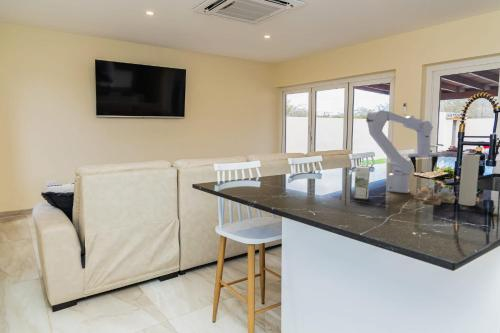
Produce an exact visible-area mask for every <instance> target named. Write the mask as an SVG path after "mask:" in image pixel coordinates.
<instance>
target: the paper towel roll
mask: <svg viewBox="0 0 500 333" xmlns="http://www.w3.org/2000/svg"><path fill="white" fill-rule="evenodd" d="M480 157H481V156H480V154H476V153H474V154H473V153H466V154H465V153H464V154H462V159H461V168H460V169H461V170H460V180H459V190H458V191H459V193H458V204H459V205H461V206H470V207H473V206H476V201H477V200H476V199H477V190H478V180H479V179H478V178H479V167H480V159H481V158H480Z"/></svg>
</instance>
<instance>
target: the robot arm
mask: <svg viewBox="0 0 500 333" xmlns="http://www.w3.org/2000/svg"><path fill="white" fill-rule="evenodd" d="M365 121H366V124H367V126H368V132H369V135H370V136H371V137H372V139H373V140H374V141H375V143H376V145H378V147H379V148H380V149H381V150H382V151H383V153H384V154H385V155H386V157H387V159H389V164H390V166H391V170H392V171H393V173H392V172H391V173H388V174H389V175H388V182H387V184H388V185H387V192H392V193H393V192H394V193H402V194H403V193H405V194H408V193H410V192H411V189H409V186H410V176H411V173H412V172H413V171H414V173H417V158H420V159H421V158H422V159H423V158H431V166H430V167H431V168H430V169H431V170H430V171H431V173H433V172H434V169H435V166H436V164H437V162H438V160H439V158H441V152H431V134H432V130H433V128H434V126H433V125H432V122H430V121H429V120H423V118H417V117H415V116H414V115H408V116H403V115H399V114H396V113H395V112H392V111H389V110H384V109H379V110H371V111H369V112H368V113H367V115H366V119H365ZM389 121H391V122H395V123H397V124H402V125H403V127H405V128H406V129H409V130H413V131H415V132H416V141H417V144H416V146H417V150H416V151H417V153H416V152H415V153H408V154H407V158H408V159H410V161H409V160H407V159H406V158H405V157H404V156H403V155H401V154H400V152H399V151H398V150H397V148H395V146H394V145H393V143H392V142H391V141H390V139H389V138H388V137H387V136H386V134H385V133H384V132H383V129H384V127H385V125H386V123H387V122H389Z"/></svg>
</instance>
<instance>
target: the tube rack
mask: <svg viewBox="0 0 500 333" xmlns="http://www.w3.org/2000/svg"><path fill="white" fill-rule="evenodd" d="M422 187H423V186H419V187H418V188H417V189H416V193H415V194H414V195H413V197H412V199H414V200H419V201H423V199H424V198H425V197H436V198H438V199H441V203H445V204H446V203H447V204H455V201H456V198H457V197H456V196H455V195H454V189H450V188H448V189H449V190H450V192H451V193H445V192H440V191H441V189H442V188H438V189H437V190H436V193H434V190H435V188H434V187H430V189H431V191H425V190H420V189H421V188H422Z"/></svg>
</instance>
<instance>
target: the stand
mask: <svg viewBox="0 0 500 333" xmlns="http://www.w3.org/2000/svg"><path fill="white" fill-rule="evenodd" d="M422 204H426V205H427V204H428V205H434V206H435V205H436V206H440V205H441V204H442V202H441V199H438V198H436V197H425V198H424V199H423V200H422Z"/></svg>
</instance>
